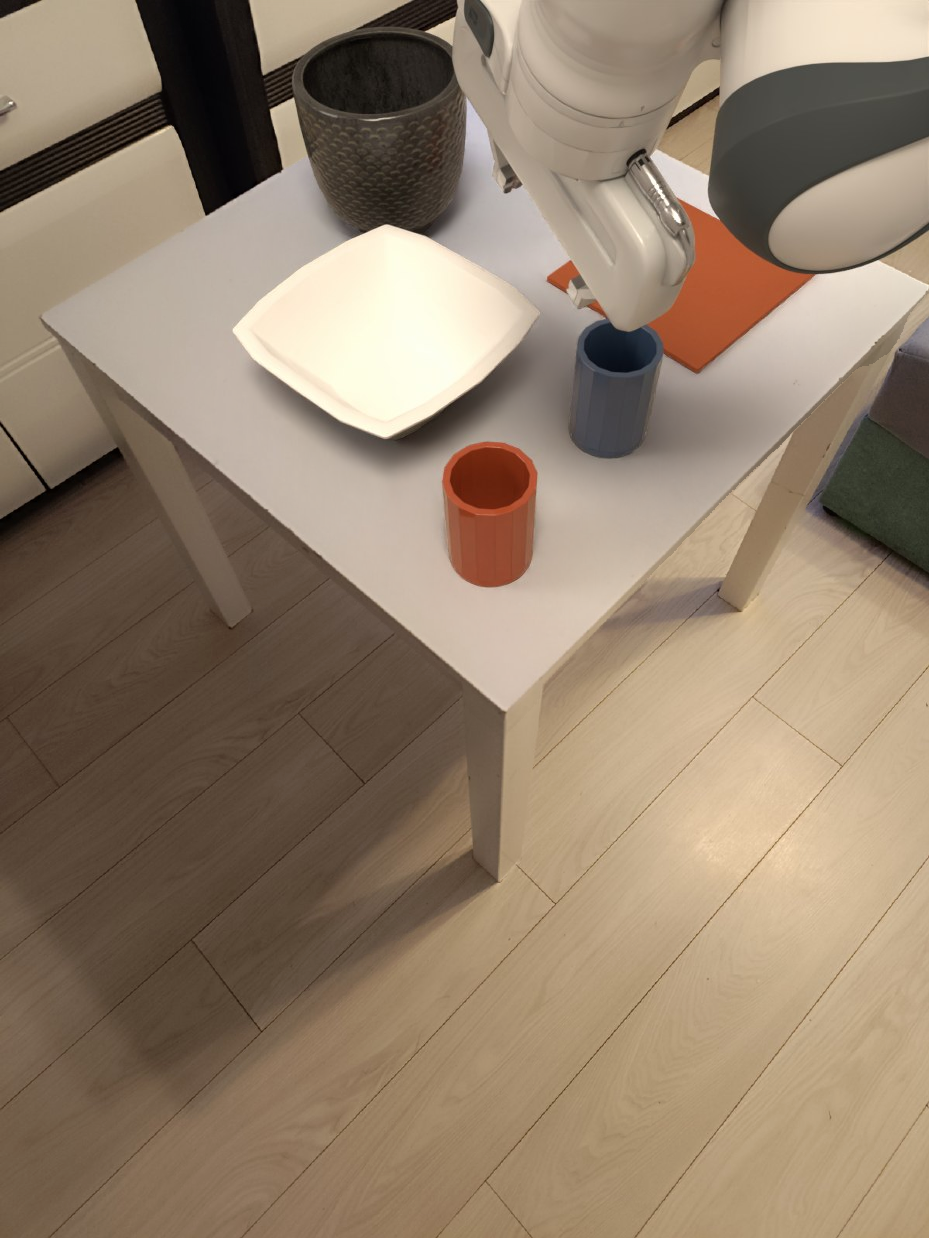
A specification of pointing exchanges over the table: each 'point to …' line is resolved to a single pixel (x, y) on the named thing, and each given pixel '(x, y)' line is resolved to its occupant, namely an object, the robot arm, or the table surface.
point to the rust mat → (712, 294)
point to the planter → (383, 125)
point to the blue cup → (613, 388)
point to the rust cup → (490, 512)
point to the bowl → (386, 330)
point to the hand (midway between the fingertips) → (544, 239)
